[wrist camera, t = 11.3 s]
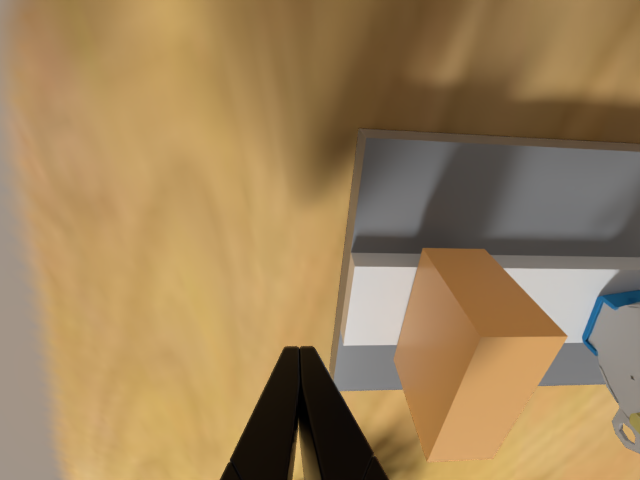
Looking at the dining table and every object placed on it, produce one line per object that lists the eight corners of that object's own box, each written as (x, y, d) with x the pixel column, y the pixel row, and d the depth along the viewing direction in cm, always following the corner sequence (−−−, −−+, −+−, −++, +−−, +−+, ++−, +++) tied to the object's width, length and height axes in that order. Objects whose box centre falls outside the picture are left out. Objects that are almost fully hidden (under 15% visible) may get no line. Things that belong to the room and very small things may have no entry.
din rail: (849, 155, 12) (1107, 205, 8) (668, 362, 17) (772, 449, 14) (358, 128, 10) (399, 177, 6) (329, 368, 16) (341, 471, 12)
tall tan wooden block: (484, 249, 10) (568, 336, 7) (443, 358, 13) (492, 458, 10) (422, 247, 10) (480, 337, 7) (393, 359, 13) (427, 462, 10)
